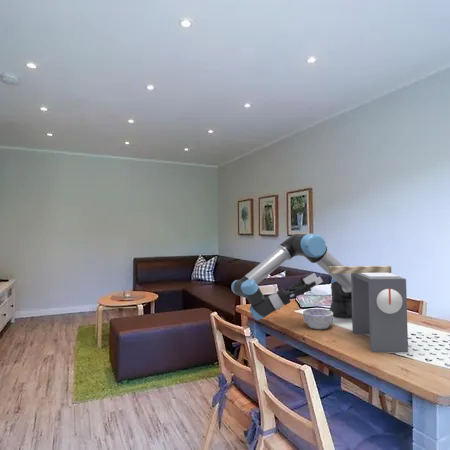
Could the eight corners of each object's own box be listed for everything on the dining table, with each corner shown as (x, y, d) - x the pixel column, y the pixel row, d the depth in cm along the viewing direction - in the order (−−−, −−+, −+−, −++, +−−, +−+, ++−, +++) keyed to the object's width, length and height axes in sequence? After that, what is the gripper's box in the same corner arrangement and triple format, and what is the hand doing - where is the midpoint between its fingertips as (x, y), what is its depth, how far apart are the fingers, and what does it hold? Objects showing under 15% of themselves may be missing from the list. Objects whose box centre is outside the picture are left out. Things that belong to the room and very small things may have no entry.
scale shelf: (373, 353, 137) (371, 277, 138) (352, 331, 166) (350, 269, 167) (409, 353, 136) (407, 276, 137) (381, 332, 165) (380, 268, 166)
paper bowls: (310, 332, 167) (310, 316, 167) (299, 323, 182) (298, 309, 182) (339, 330, 170) (338, 314, 170) (325, 322, 185) (325, 307, 185)
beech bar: (330, 273, 159) (330, 267, 159) (328, 272, 162) (328, 266, 162) (391, 272, 157) (391, 266, 157) (388, 272, 160) (388, 265, 160)
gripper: (281, 300, 175) (317, 280, 173) (286, 311, 150) (328, 288, 148) (274, 287, 175) (309, 267, 174) (278, 297, 150) (319, 273, 149)
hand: (318, 276), depth 161 cm, fingers open, 13 cm apart
